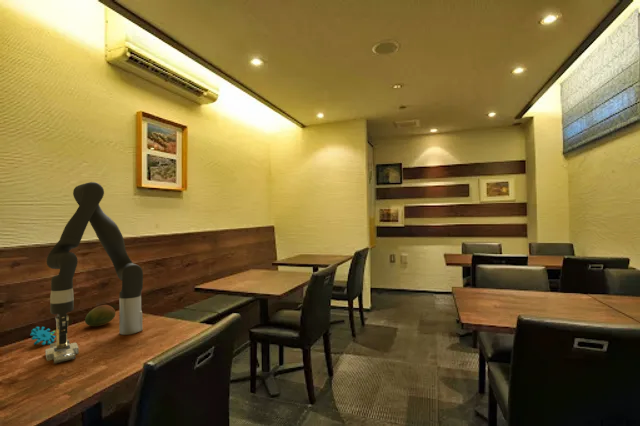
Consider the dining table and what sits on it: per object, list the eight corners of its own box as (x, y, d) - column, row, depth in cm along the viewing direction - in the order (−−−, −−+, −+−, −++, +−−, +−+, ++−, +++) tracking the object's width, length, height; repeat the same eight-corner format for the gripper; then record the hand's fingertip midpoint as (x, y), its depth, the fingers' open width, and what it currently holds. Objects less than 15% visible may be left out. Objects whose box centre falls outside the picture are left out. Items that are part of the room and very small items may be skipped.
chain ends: (73, 343, 143) (73, 337, 143) (81, 358, 127) (81, 351, 127) (44, 349, 136) (44, 343, 136) (48, 367, 120) (48, 359, 120)
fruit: (119, 322, 172) (119, 303, 172) (98, 330, 159) (98, 310, 160) (101, 320, 174) (101, 302, 174) (79, 328, 162) (79, 308, 162)
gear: (40, 345, 137) (27, 327, 139) (30, 355, 137) (17, 337, 138) (63, 339, 148) (50, 322, 149) (53, 348, 148) (41, 332, 149)
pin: (66, 345, 134) (66, 324, 134) (67, 348, 132) (67, 326, 132) (55, 347, 132) (55, 326, 132) (56, 350, 129) (56, 328, 129)
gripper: (75, 301, 129) (75, 344, 129) (71, 295, 140) (71, 335, 139) (51, 305, 124) (51, 350, 124) (49, 298, 134) (49, 340, 134)
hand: (62, 342), depth 132 cm, fingers closed on pin, 3 cm apart
